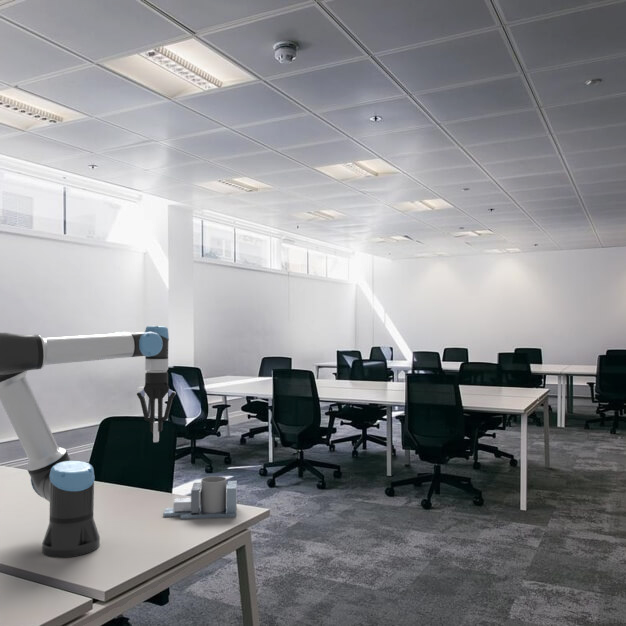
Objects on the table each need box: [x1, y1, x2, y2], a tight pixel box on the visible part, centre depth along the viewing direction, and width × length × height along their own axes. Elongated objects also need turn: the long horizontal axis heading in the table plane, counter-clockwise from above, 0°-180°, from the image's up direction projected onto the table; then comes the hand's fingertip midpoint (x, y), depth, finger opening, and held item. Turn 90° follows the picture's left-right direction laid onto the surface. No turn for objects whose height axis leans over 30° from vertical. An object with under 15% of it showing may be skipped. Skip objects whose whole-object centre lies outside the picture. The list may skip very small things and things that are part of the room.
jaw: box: [172, 481, 201, 513], centre depth 200 cm, size 10×9×8 cm
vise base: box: [163, 480, 238, 520], centre depth 200 cm, size 12×24×9 cm, turn 97°
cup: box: [200, 475, 227, 513], centre depth 201 cm, size 8×8×10 cm
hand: (156, 441), depth 199 cm, fingers closed
